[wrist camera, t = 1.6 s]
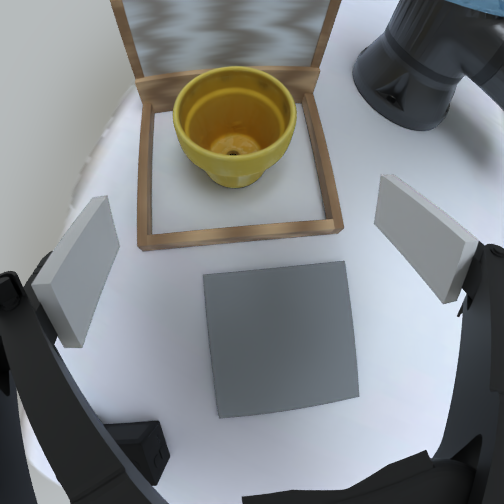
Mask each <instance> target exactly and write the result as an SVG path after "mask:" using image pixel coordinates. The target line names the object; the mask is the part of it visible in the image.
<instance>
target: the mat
mask: <svg viewBox="0 0 504 504" xmlns="http://www.w3.org/2000/svg"><path fill="white" fill-rule="evenodd" d="M203 280H204V292H205V303H206V313H207V323H208V333H209V343H210V352H211V361H212V369H213V377H214V386H215V393H216V401H217V409H218V416H219V418H230V417H241V416H251V415H259V414H267V413H275V412H282V411H288V410H295V409H301V408H307V407H312V406H317V405H323V404H328V403H333V402H337V401H342V400H346V399H351V398H355V397H359V385H358V371H357V359H356V348H355V338H354V329H353V320H352V311H351V303H350V295H349V288H348V281H347V274H346V267H345V261H338V262H328V263H319V264H309V265H300V266H290V267H280V268H270V269H260V270H249V271H239V272H228V273H217V274H206V275H203Z"/></svg>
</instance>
